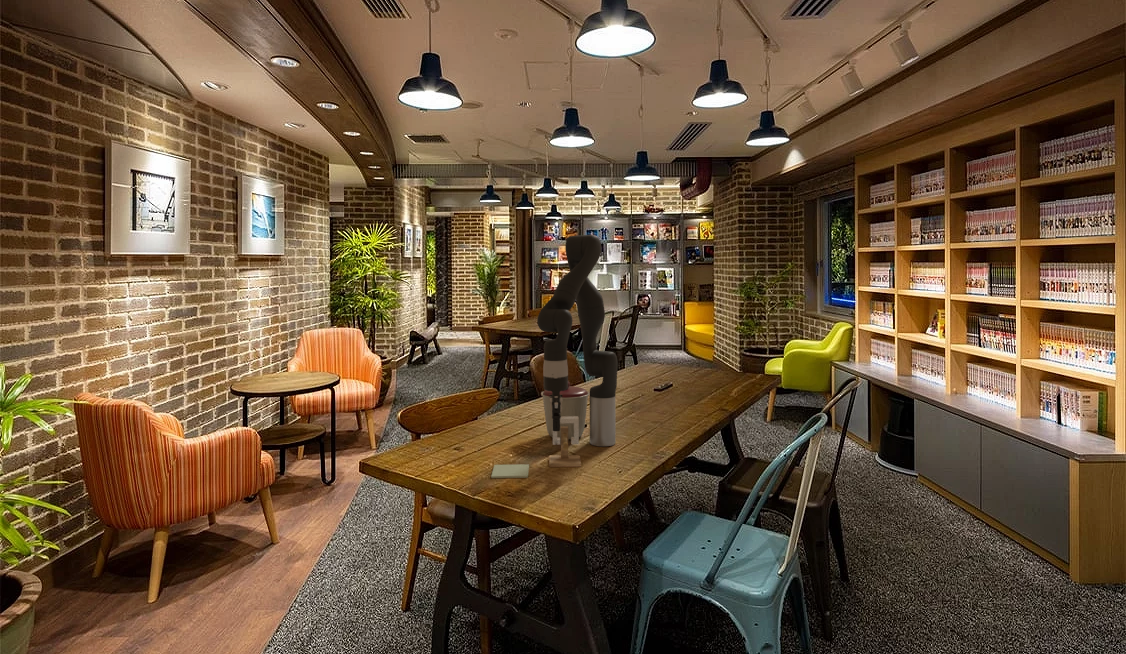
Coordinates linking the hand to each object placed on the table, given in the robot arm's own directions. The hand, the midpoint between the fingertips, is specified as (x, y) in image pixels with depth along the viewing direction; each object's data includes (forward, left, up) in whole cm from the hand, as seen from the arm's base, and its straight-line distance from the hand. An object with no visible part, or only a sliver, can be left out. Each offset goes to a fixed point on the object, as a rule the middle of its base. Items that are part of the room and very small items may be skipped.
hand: (556, 429), depth 197 cm
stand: (-4, +3, -13) cm, 14 cm away
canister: (-40, +4, -14) cm, 43 cm away
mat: (0, -14, -13) cm, 20 cm away
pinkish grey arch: (0, +3, -4) cm, 5 cm away
